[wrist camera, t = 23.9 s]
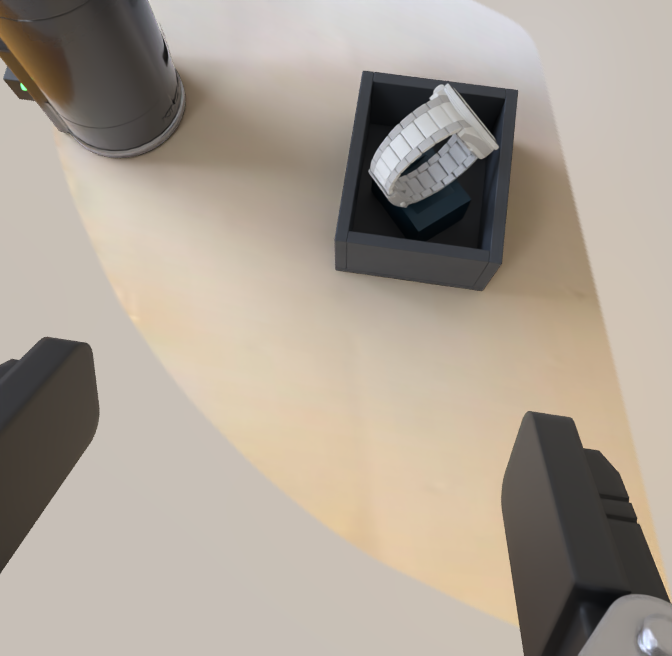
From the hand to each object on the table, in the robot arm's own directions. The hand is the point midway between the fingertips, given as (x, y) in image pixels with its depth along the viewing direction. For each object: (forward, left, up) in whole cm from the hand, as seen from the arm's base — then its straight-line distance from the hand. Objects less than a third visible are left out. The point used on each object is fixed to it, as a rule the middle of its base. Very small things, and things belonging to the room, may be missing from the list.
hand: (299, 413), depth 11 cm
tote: (+4, +20, -31) cm, 37 cm away
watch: (+3, +19, -30) cm, 36 cm away
